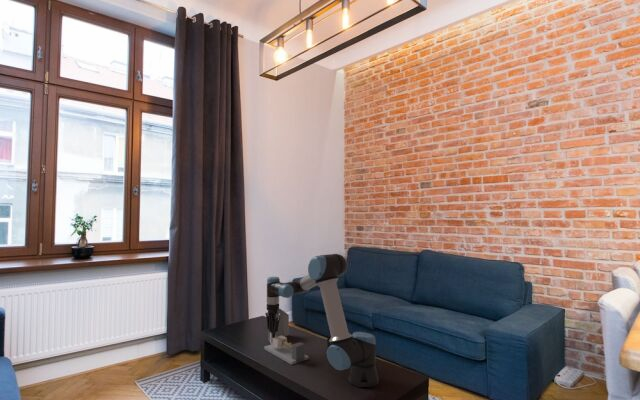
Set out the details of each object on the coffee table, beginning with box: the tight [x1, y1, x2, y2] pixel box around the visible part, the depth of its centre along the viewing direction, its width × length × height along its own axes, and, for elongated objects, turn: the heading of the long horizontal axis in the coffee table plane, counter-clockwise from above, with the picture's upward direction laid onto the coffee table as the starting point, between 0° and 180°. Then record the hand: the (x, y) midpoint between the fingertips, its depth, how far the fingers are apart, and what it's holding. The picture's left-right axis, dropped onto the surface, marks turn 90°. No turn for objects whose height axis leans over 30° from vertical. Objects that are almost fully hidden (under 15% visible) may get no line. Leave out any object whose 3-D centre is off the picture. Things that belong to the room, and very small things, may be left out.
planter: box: [267, 308, 290, 342], centre depth 237 cm, size 16×8×19 cm, turn 134°
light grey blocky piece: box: [263, 334, 310, 366], centre depth 209 cm, size 28×12×9 cm, turn 41°
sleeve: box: [273, 336, 288, 348], centre depth 212 cm, size 5×7×4 cm
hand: (272, 342), depth 213 cm, fingers closed
